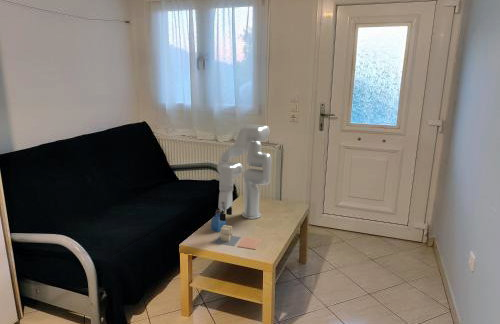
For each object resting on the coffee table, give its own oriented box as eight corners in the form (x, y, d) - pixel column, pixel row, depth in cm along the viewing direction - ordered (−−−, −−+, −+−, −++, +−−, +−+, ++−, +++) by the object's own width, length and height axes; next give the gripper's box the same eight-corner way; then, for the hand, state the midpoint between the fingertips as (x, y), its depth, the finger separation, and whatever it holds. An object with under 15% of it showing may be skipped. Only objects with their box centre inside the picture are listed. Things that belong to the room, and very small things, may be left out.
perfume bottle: (211, 229, 213) (211, 210, 210) (219, 226, 217) (219, 207, 215) (217, 232, 209) (217, 213, 206) (226, 229, 213) (226, 210, 210)
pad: (244, 237, 202) (244, 236, 202) (261, 240, 200) (261, 239, 199) (237, 247, 191) (237, 246, 191) (255, 249, 188) (255, 248, 188)
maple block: (223, 236, 203) (223, 225, 202) (232, 237, 202) (232, 226, 200) (220, 240, 199) (220, 228, 197) (228, 241, 197) (229, 229, 196)
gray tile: (221, 234, 206) (221, 234, 206) (241, 237, 203) (241, 237, 203) (213, 243, 195) (213, 242, 195) (233, 246, 192) (233, 246, 192)
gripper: (225, 182, 202) (225, 211, 206) (213, 191, 186) (213, 222, 190) (238, 184, 200) (237, 213, 204) (227, 192, 184) (226, 223, 188)
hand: (225, 217), depth 197 cm, fingers open, 9 cm apart
